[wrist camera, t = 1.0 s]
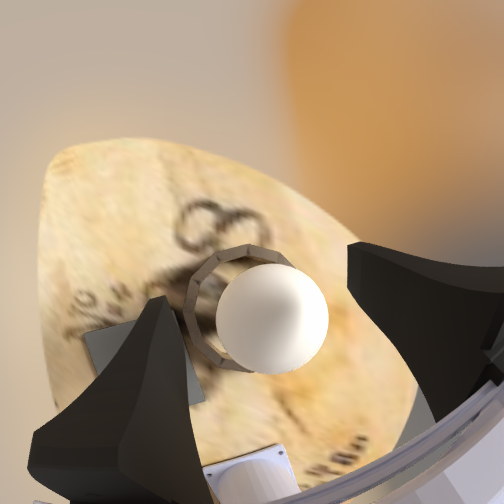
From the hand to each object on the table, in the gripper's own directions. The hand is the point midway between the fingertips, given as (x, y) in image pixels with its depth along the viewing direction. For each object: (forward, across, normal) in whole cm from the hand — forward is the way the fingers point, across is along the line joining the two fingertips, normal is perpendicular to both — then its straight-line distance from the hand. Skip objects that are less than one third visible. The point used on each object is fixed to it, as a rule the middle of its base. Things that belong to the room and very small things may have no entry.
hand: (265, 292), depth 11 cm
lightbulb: (+10, 0, +8) cm, 13 cm away
